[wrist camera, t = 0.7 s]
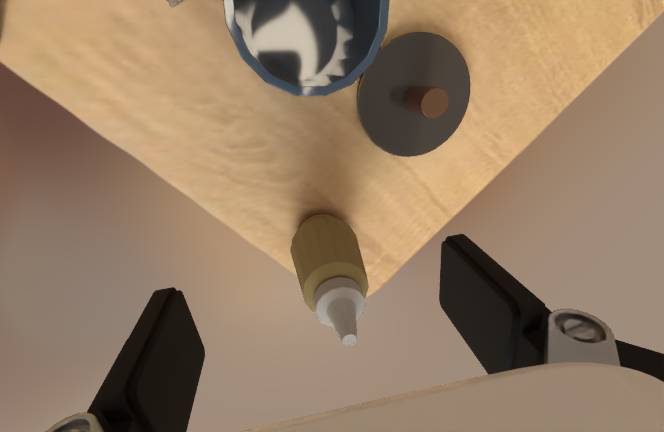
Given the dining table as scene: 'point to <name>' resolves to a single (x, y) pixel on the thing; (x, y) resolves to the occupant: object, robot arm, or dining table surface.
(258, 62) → the pot
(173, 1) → the condiment
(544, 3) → the dining table surface
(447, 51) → the lid
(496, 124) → the dining table surface
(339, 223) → the squeeze bottle
